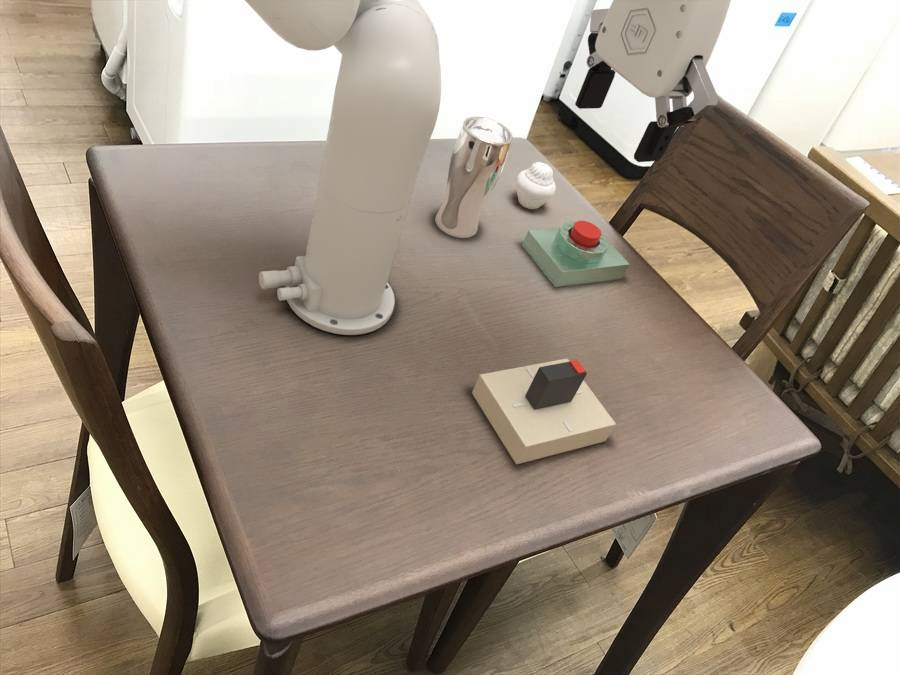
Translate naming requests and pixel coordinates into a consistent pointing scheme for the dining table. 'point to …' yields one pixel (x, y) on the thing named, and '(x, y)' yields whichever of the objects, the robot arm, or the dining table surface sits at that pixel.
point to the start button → (585, 234)
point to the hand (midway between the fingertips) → (615, 132)
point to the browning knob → (555, 384)
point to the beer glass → (472, 174)
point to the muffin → (535, 185)
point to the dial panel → (539, 415)
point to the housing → (573, 257)
